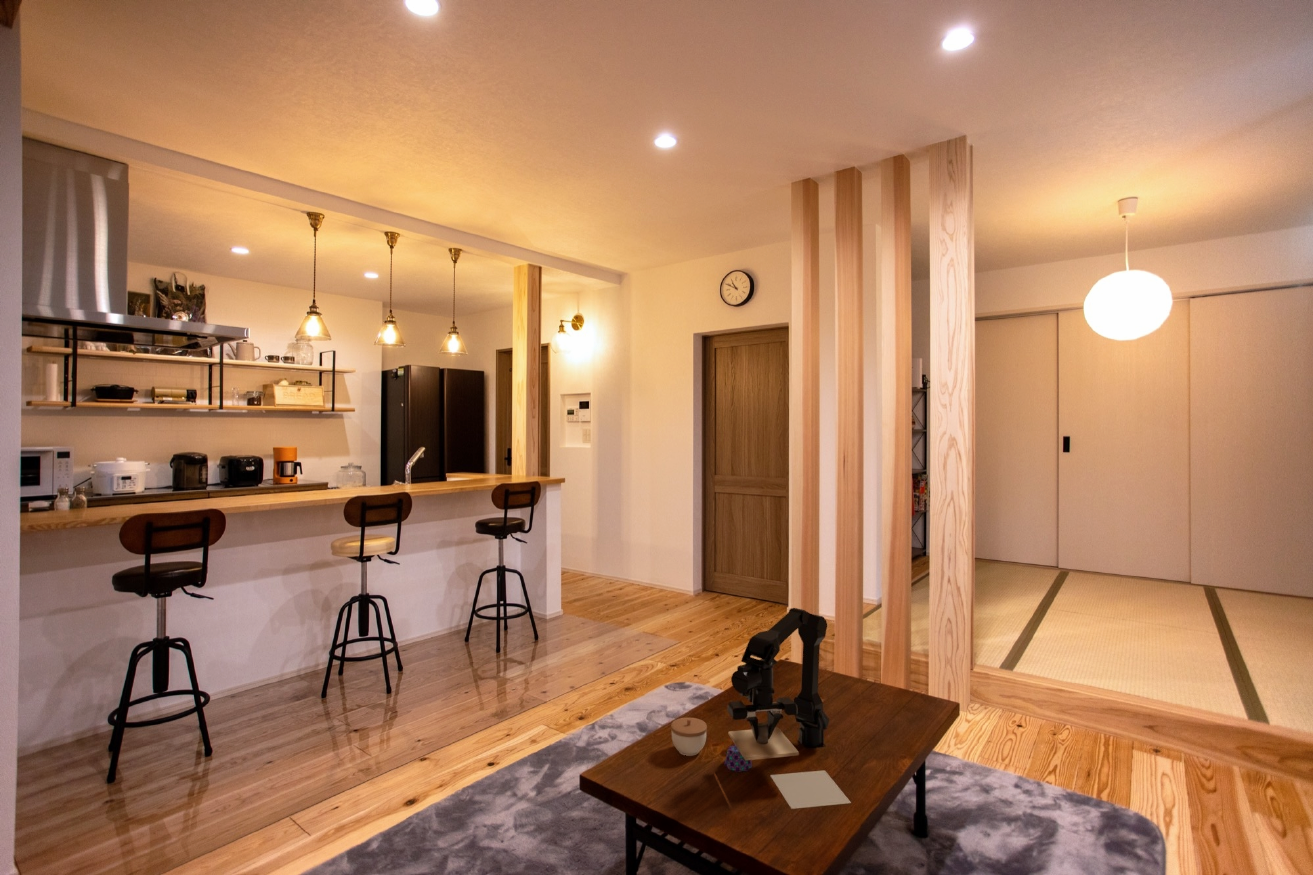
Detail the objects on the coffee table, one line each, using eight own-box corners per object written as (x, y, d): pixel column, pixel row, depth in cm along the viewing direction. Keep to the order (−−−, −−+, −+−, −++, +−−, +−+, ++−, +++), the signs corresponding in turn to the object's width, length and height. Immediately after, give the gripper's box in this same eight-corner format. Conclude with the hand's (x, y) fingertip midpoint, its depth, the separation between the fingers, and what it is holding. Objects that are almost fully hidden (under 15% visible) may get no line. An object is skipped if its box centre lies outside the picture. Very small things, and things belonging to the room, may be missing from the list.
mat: (824, 772, 179) (824, 770, 179) (851, 805, 163) (851, 802, 163) (770, 777, 176) (770, 775, 176) (791, 810, 160) (791, 808, 160)
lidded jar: (704, 761, 184) (704, 729, 184) (668, 757, 187) (668, 725, 186) (708, 744, 195) (709, 713, 195) (674, 740, 197) (674, 710, 197)
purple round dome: (756, 781, 174) (756, 762, 174) (713, 774, 178) (713, 756, 178) (762, 760, 186) (762, 742, 186) (721, 754, 189) (721, 736, 189)
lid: (777, 729, 186) (777, 711, 186) (798, 755, 171) (798, 735, 171) (728, 734, 183) (728, 715, 183) (745, 760, 168) (745, 740, 168)
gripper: (782, 669, 187) (782, 723, 187) (721, 674, 183) (721, 728, 183) (798, 684, 176) (798, 741, 176) (733, 689, 172) (733, 747, 172)
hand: (762, 738), depth 177 cm, fingers closed on lid, 3 cm apart
